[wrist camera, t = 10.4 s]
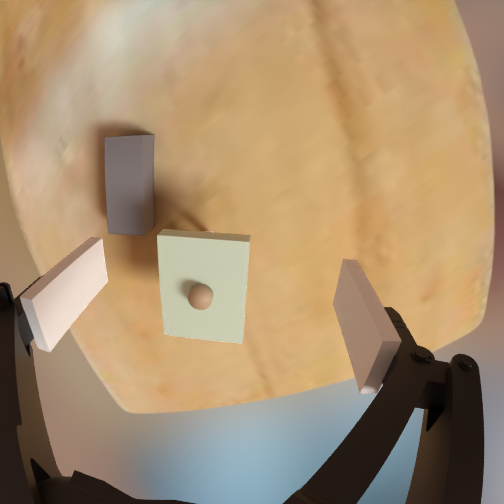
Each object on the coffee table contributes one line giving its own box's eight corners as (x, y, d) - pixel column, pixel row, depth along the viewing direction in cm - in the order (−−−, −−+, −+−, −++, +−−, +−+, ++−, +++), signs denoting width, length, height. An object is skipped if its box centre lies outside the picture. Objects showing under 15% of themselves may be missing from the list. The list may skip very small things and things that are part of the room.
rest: (119, 136, 35) (104, 137, 31) (154, 134, 35) (142, 135, 31) (121, 224, 39) (108, 233, 35) (154, 226, 39) (143, 235, 35)
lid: (163, 228, 31) (152, 239, 28) (250, 235, 30) (248, 246, 28) (168, 324, 35) (161, 340, 32) (243, 333, 35) (241, 350, 32)
